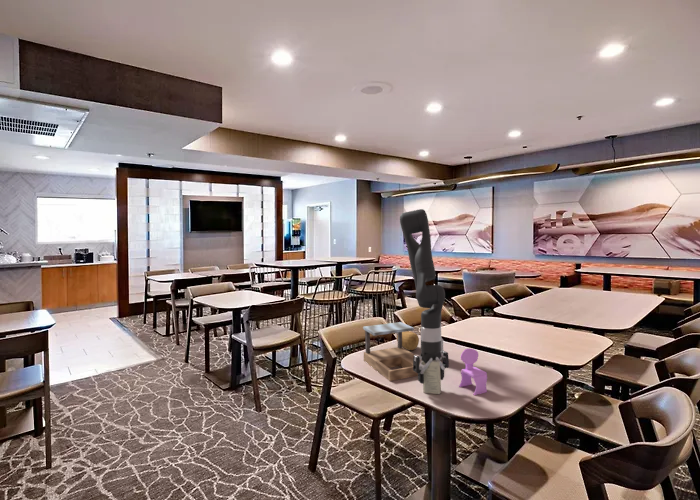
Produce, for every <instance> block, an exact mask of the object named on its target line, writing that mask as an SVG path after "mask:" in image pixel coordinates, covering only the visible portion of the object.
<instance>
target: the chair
mask: <svg viewBox="0 0 700 500" xmlns="http://www.w3.org/2000/svg"><path fill="white" fill-rule="evenodd" d="M478 359H479V352H478V351H477V350H476V349H474V348H469V347H468V348H465V349H464V350H463V351H462V352H461V354H460V360H461V362H463V363H464V364H465V368H462V369H461V371H460V375H461V380H460V383H459V386H458V388H461V387H467V386H470V385H471V386H472V385H473V383H472V381H474V383H475V390H474V392H473V396H477V395H481V394H484V393H488V389H487V381H488V374H487V373H488V372H487V371H485V370H482V369H480V368H478V367H476V366H474V364H475V363H476V362H478ZM472 379H473V380H472Z"/></svg>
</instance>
